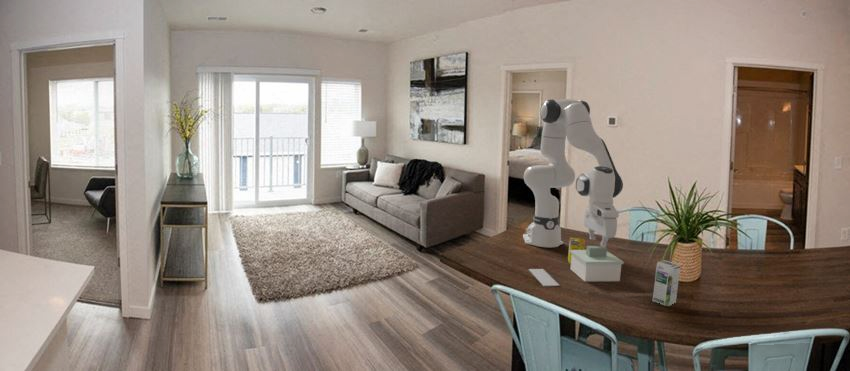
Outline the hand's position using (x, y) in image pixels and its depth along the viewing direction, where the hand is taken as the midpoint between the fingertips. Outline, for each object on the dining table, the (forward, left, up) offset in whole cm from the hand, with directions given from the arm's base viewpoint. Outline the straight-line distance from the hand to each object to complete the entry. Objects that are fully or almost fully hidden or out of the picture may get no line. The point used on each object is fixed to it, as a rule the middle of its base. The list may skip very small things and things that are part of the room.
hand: (597, 243), depth 189 cm
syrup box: (+25, +14, -14) cm, 32 cm away
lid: (0, 0, -6) cm, 6 cm away
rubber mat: (0, -16, -14) cm, 21 cm away
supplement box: (-16, -1, -14) cm, 22 cm away
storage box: (0, 0, -14) cm, 14 cm away
